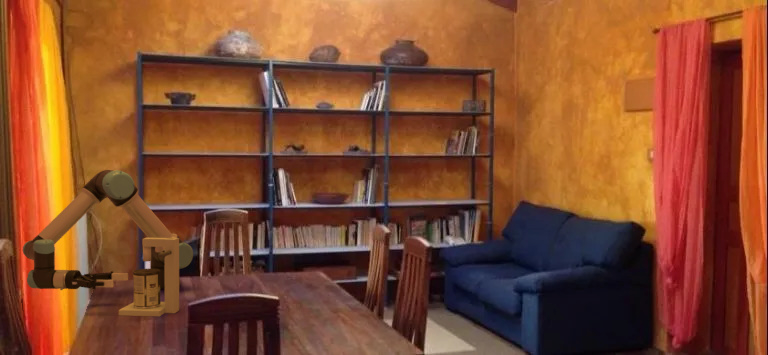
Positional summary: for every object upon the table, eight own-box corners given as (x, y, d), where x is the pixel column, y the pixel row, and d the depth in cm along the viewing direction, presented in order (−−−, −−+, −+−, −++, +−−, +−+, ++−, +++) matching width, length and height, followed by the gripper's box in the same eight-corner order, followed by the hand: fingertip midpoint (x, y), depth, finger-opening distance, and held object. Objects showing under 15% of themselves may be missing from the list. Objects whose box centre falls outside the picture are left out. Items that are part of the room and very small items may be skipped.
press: (135, 305, 285) (135, 235, 284) (183, 307, 284) (183, 236, 283) (114, 317, 265) (113, 241, 264) (165, 319, 264) (165, 242, 263)
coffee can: (144, 302, 283) (144, 267, 283) (165, 304, 280) (165, 269, 279) (127, 307, 274) (127, 271, 273) (149, 309, 270) (149, 273, 270)
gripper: (83, 282, 291) (133, 283, 290) (52, 295, 266) (106, 296, 265) (83, 264, 291) (133, 265, 290) (51, 276, 266) (106, 276, 265)
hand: (120, 280), depth 278 cm, fingers open, 13 cm apart
